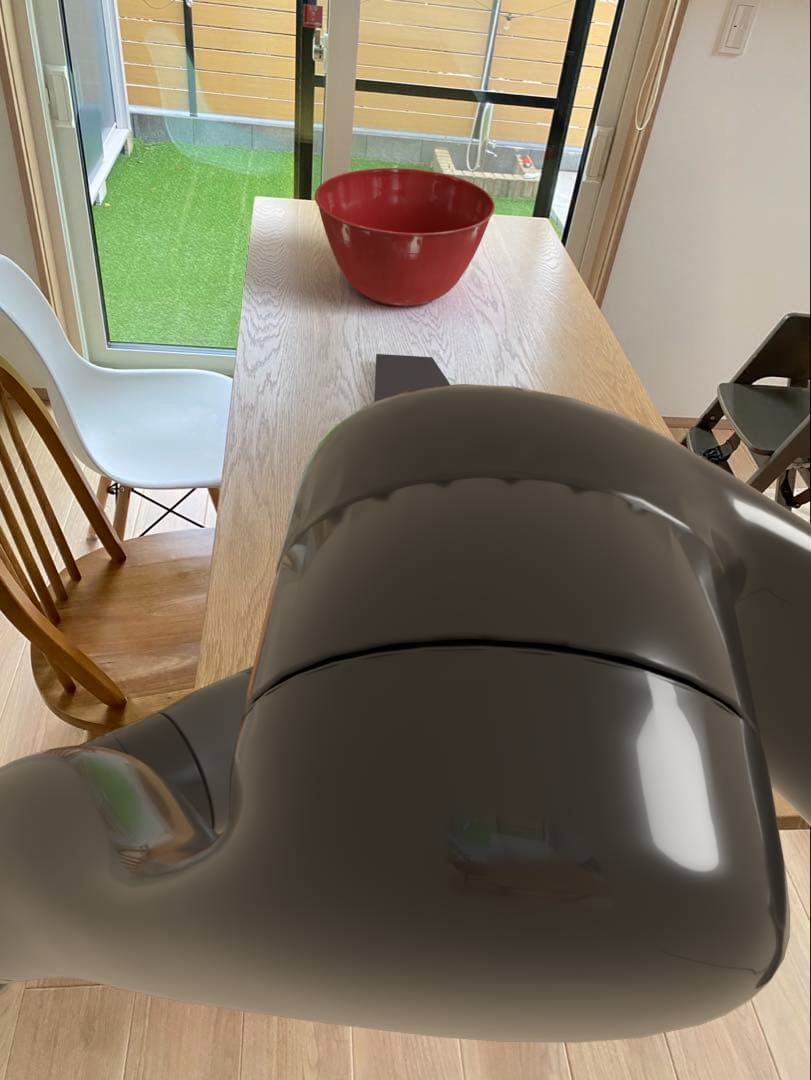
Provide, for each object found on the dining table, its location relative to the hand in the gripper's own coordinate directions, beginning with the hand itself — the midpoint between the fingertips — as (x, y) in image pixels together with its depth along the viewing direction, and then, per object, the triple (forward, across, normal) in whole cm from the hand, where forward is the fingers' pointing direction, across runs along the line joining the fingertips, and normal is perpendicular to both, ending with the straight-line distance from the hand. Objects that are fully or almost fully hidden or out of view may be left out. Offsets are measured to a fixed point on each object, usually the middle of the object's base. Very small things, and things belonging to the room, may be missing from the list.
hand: (468, 637), depth 53 cm
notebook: (+37, +45, +15) cm, 60 cm away
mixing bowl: (+57, +75, +14) cm, 95 cm away
